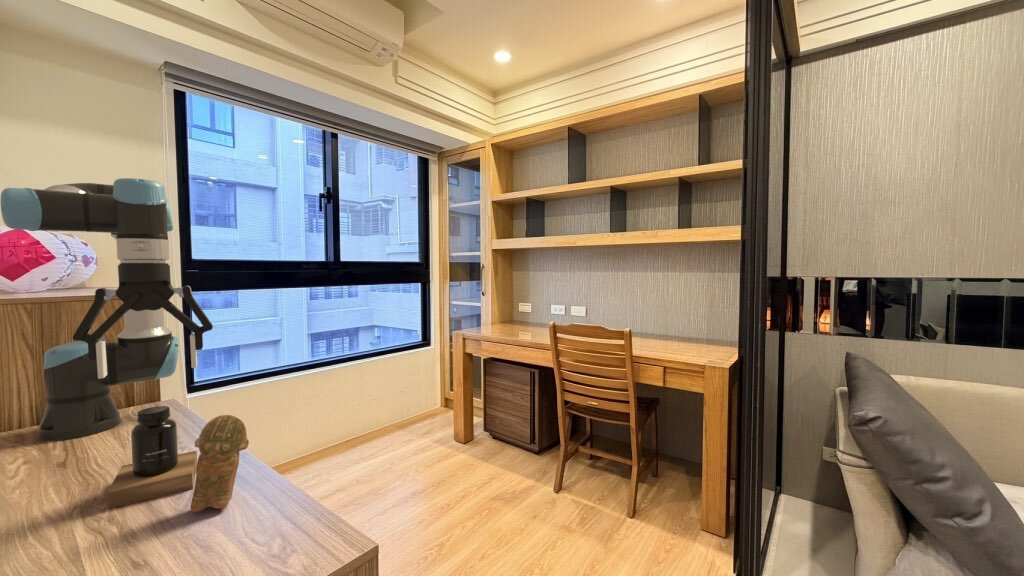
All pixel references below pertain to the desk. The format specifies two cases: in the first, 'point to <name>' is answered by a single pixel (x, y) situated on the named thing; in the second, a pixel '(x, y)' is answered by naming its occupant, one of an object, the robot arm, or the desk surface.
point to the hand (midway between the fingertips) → (150, 371)
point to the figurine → (218, 461)
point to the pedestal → (152, 482)
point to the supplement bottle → (154, 442)
